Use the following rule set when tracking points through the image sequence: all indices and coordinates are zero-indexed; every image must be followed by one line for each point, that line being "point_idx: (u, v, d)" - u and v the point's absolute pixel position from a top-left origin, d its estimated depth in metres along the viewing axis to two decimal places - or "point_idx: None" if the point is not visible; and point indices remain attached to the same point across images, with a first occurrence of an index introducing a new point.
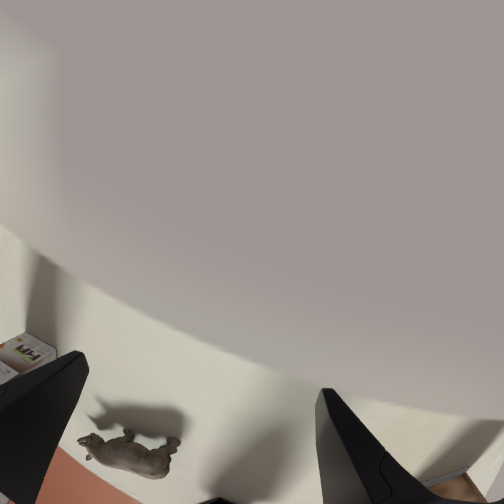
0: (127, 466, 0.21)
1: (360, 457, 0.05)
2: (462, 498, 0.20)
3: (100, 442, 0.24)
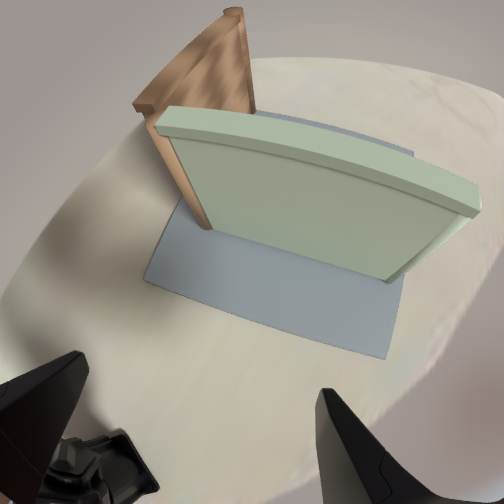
0: None
1: (360, 457, 0.05)
2: None
3: None
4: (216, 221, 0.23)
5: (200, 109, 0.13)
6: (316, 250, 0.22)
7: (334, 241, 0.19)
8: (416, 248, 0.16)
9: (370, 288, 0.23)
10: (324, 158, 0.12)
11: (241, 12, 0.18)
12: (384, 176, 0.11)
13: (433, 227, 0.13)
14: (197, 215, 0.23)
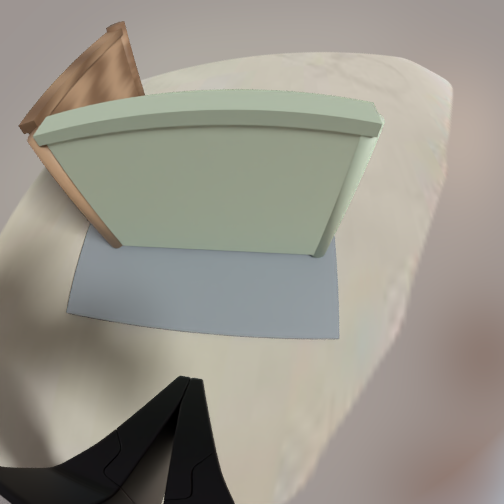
0: None
1: (181, 450, 0.05)
2: None
3: None
4: (121, 234, 0.21)
5: (71, 111, 0.11)
6: (227, 238, 0.20)
7: (240, 220, 0.18)
8: (330, 200, 0.15)
9: (300, 267, 0.22)
10: (185, 116, 0.10)
11: (123, 25, 0.17)
12: (254, 114, 0.10)
13: (337, 165, 0.13)
14: (101, 232, 0.20)
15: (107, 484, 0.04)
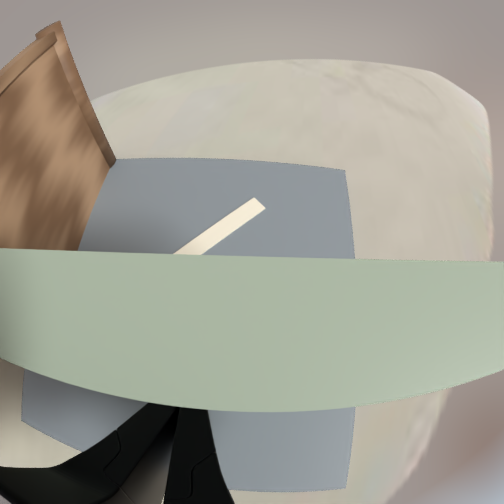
0: None
1: (181, 450, 0.05)
2: None
3: None
4: None
5: None
6: None
7: None
8: None
9: None
10: (27, 367, 0.03)
11: (56, 27, 0.09)
12: None
13: None
14: None
15: (107, 484, 0.04)
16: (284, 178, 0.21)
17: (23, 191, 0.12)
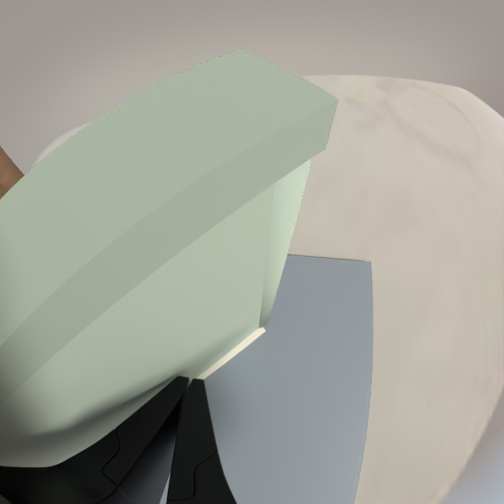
0: None
1: (183, 450, 0.05)
2: None
3: None
4: None
5: None
6: None
7: (148, 398, 0.09)
8: (253, 298, 0.08)
9: None
10: None
11: None
12: None
13: (242, 267, 0.05)
14: None
15: (105, 483, 0.04)
16: (292, 281, 0.16)
17: None
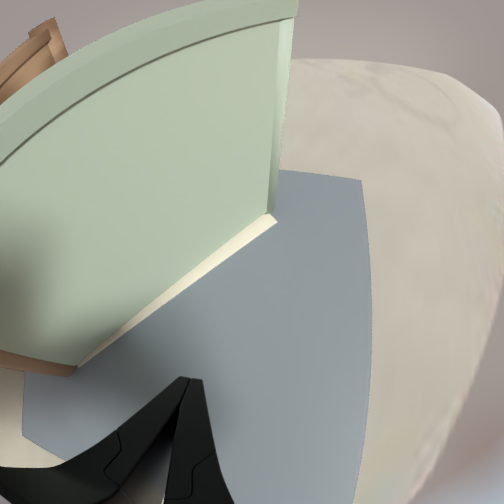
0: None
1: (181, 450, 0.05)
2: None
3: None
4: (64, 355, 0.12)
5: None
6: (176, 262, 0.14)
7: (180, 226, 0.12)
8: (267, 127, 0.11)
9: (316, 436, 0.13)
10: (51, 96, 0.04)
11: (50, 24, 0.08)
12: (154, 39, 0.05)
13: (265, 73, 0.09)
14: (42, 371, 0.11)
15: (107, 484, 0.04)
16: (297, 188, 0.20)
17: None
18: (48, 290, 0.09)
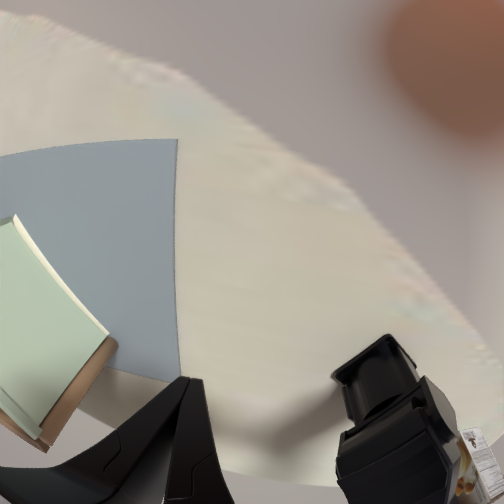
0: None
1: (181, 450, 0.05)
2: None
3: None
4: (91, 342, 0.22)
5: (13, 420, 0.11)
6: (32, 275, 0.20)
7: (8, 278, 0.18)
8: None
9: (109, 178, 0.19)
10: None
11: None
12: None
13: None
14: (101, 357, 0.21)
15: (107, 484, 0.04)
16: (1, 201, 0.21)
17: None
18: (33, 344, 0.16)
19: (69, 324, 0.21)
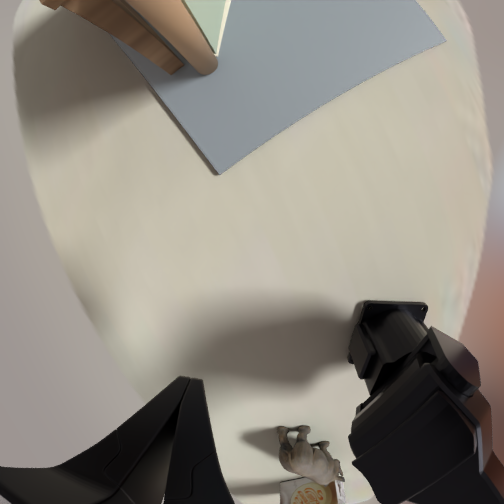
0: (306, 475, 0.24)
1: (181, 450, 0.05)
2: None
3: None
4: (212, 34, 0.13)
5: None
6: None
7: None
8: None
9: None
10: None
11: None
12: None
13: None
14: (209, 51, 0.13)
15: (108, 484, 0.04)
16: None
17: None
18: None
19: (217, 1, 0.12)
